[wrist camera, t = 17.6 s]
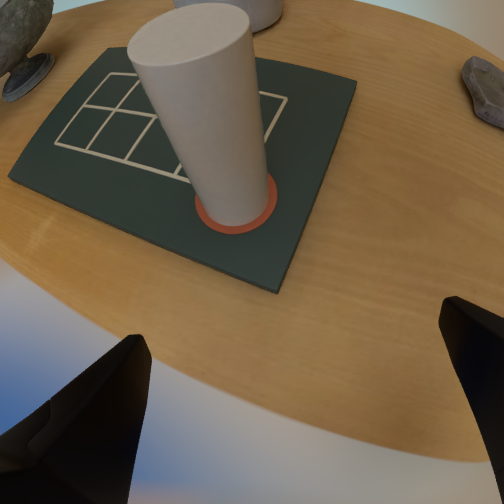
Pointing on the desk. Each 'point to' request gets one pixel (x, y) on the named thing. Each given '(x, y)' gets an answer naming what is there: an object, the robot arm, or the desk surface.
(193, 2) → the planter
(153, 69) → the white upright cylinder
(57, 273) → the desk surface
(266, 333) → the desk surface
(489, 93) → the stone
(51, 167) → the board
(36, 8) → the bowl
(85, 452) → the robot arm
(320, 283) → the desk surface
